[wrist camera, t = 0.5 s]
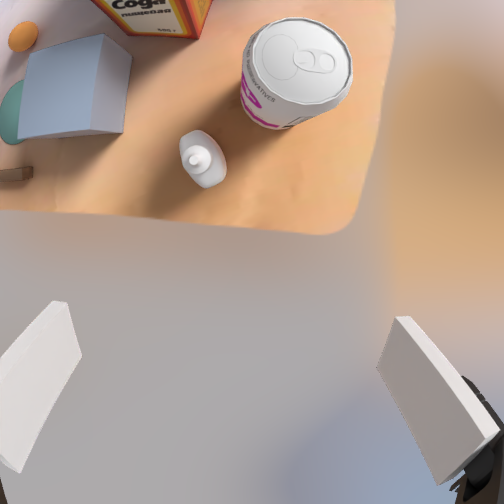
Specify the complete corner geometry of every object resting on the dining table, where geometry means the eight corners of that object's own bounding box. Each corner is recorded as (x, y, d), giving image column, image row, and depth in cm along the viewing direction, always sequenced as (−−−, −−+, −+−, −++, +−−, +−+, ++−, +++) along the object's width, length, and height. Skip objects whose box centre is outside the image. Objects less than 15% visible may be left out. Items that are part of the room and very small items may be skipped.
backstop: (-1, 170, 29) (-11, 172, 27) (32, 166, 30) (22, 168, 28) (0, 180, 30) (-10, 183, 28) (32, 177, 31) (22, 180, 28)
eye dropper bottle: (229, 134, 31) (225, 124, 20) (226, 182, 33) (220, 197, 22) (191, 133, 31) (167, 124, 20) (189, 180, 33) (164, 195, 21)
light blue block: (66, 67, 26) (29, 53, 18) (132, 56, 27) (104, 33, 18) (58, 138, 29) (17, 139, 21) (123, 133, 30) (89, 129, 22)
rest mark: (3, 87, 25) (2, 87, 25) (45, 73, 26) (45, 73, 25) (-4, 147, 28) (-5, 147, 28) (37, 140, 29) (37, 140, 29)
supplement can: (239, 129, 31) (241, 110, 17) (241, 64, 28) (245, 5, 14) (308, 132, 31) (360, 121, 17) (310, 69, 29) (357, 21, 15)
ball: (25, 31, 22) (7, 24, 17) (47, 22, 22) (29, 13, 18) (17, 58, 24) (-2, 52, 19) (39, 49, 24) (20, 42, 19)
